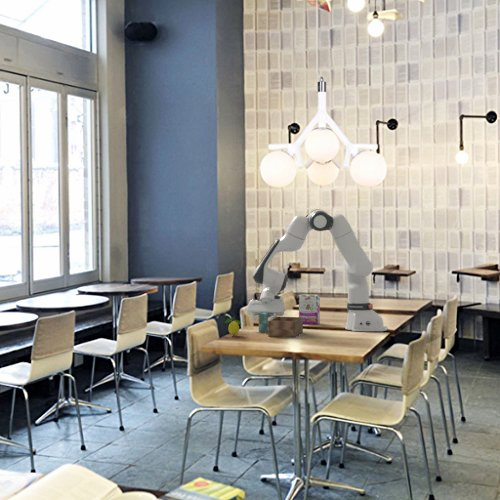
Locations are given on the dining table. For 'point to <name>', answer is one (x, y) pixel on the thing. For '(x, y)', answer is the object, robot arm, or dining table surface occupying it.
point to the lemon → (233, 326)
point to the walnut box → (285, 326)
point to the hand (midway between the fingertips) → (263, 320)
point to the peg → (263, 322)
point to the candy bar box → (309, 308)
